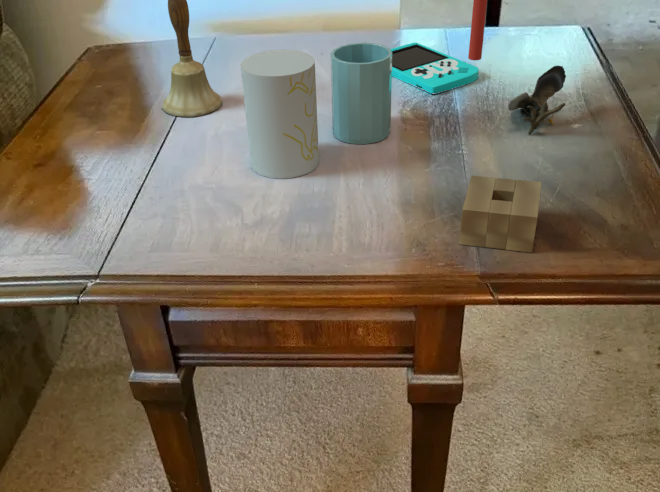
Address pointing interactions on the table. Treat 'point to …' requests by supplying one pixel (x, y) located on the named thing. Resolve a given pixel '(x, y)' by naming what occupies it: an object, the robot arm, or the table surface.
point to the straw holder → (500, 213)
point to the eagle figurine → (540, 98)
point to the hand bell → (187, 73)
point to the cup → (281, 112)
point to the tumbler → (361, 92)
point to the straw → (477, 29)
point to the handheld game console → (430, 68)
